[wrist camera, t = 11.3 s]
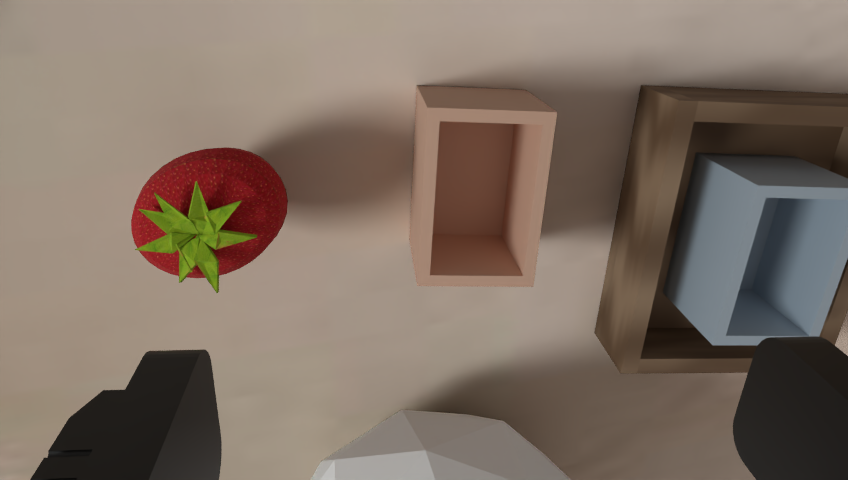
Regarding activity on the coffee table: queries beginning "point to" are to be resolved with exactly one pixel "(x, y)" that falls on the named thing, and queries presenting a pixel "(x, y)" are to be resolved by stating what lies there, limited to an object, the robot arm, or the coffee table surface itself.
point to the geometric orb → (439, 451)
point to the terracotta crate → (478, 185)
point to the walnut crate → (663, 202)
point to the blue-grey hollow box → (758, 247)
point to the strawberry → (209, 213)
